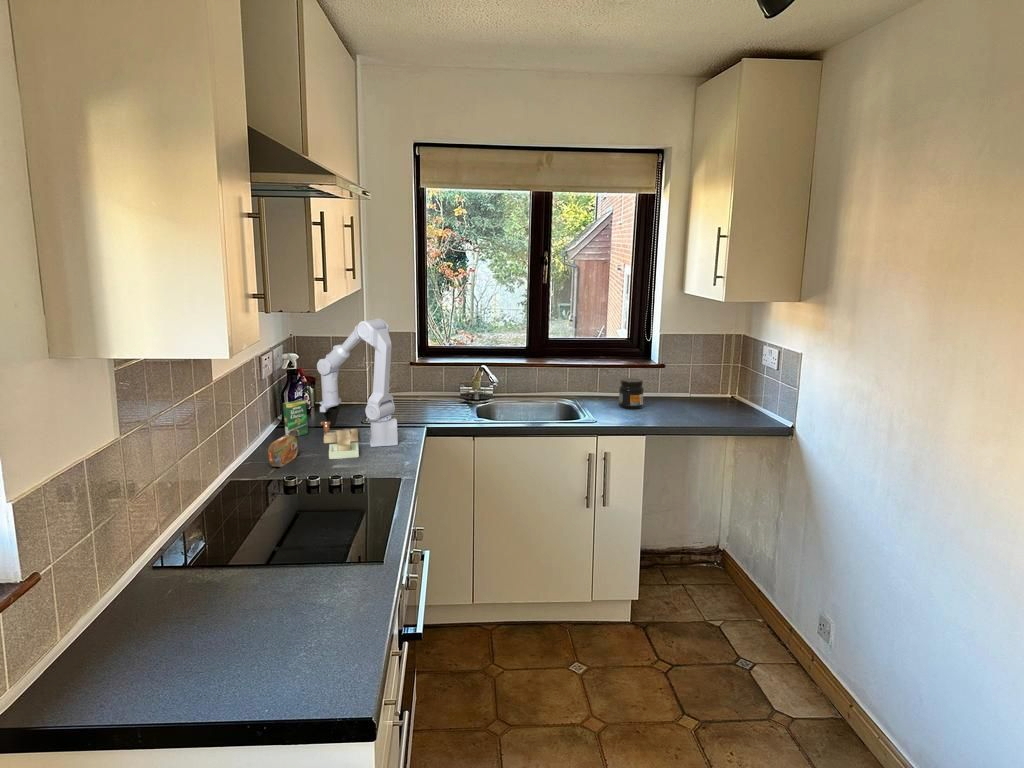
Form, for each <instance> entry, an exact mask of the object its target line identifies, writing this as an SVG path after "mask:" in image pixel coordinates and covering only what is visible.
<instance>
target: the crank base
mask: <svg viewBox="0 0 1024 768" xmlns="http://www.w3.org/2000/svg"><path fill="white" fill-rule="evenodd" d="M350 429H351V434H350V443H352V442H359V430H358V428H350ZM329 430H330V429H329ZM342 430H343V429H334V430H333V429H332V430H330V431H342ZM336 443H337V435H327V433H324V432H323V444H336Z"/></svg>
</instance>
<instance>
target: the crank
mask: <svg viewBox="0 0 1024 768" xmlns="http://www.w3.org/2000/svg"><path fill="white" fill-rule="evenodd" d="M320 425H321V426H323V434H324V433H327V435H337V432H336V431H330V427H329V425H330V421H327V420H326V421H320ZM351 429H352V428H344V429H341V430H342V431H347V430H349V433H350V434H351Z"/></svg>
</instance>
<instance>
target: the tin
mask: <svg viewBox="0 0 1024 768" xmlns="http://www.w3.org/2000/svg"><path fill="white" fill-rule="evenodd" d="M298 453H299V442H298V438H297V436H296V437H295V436H294V435H285V434H284V435H283V436H281V437H279V438H278V439H276V440H274V441H272V442H271V443H270V445H269V446H268V449H267V455H268V462H269V465H270V466H272V467H275V468H277V467H279V468H282V466H283V467H284V466H286V465H287V464H288V463H291V462H292V461H293V460H295V459H296V458H297V457H298V456H297V455H298Z"/></svg>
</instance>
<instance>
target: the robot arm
mask: <svg viewBox="0 0 1024 768" xmlns="http://www.w3.org/2000/svg"><path fill="white" fill-rule="evenodd" d="M362 340H363V341H365V342H366V343H367V344H369V345H370V346H372V347H373V348H374V361H373V363H374V364H373V365H374V367H373V381H372V382H373V383H372V393H371V394H370V396H369V398H368V399H367V404H366V406H365V409H364V411H365V416H366V418H367V419H368V421H369V422H370V439H369V446H370V447H371V448H373V447H374V448H377V447H378V448H379V447H388V446H389V447H391V446H398V445H399V433H398V420H397V418H392V417H393V414H394V413H395V410H396V405H395V404H394V403H395V402H394V396H393V395H392V394H391V393H390V379H391V376H390V375H391V366H392V365H391V361H392V360H391V359H392V341H391V336H390V326H389V325H388V323H387V321H385V320H384V319H382V318H376V319H369V320H363V321H360V322H359V323H358V324H357V325H355V327H354V330H353V331H352V332H351V333H350V335H348V337H347V338H346V339H345V341H344V342H343V343H342V344H336V345H333V347H332V350H331V351H330V352H329V353H328V354H326V355H325V358H319V360H318V362H317V363H316V369H317V371H318V373H319V374H320V384H321V399H322V400H321V401H319V405H320V406H319V413H322V414H323V415H324V417H325V420H326V421H330V425H329V428H334V427H336V424H337V418H338V415H339V412H340V410H341V406H339V405H340V404H341V403H342V398H341V397H339V384H338V376H339V371H340V369H341V366H342V364H343V363H345V362H346V360H347V359H348V358H350V356H351V353H350V351H351V350H352V349H354V348H355V347H356V346H357V345H358V344H359V343H360V342H361V341H362Z"/></svg>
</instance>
